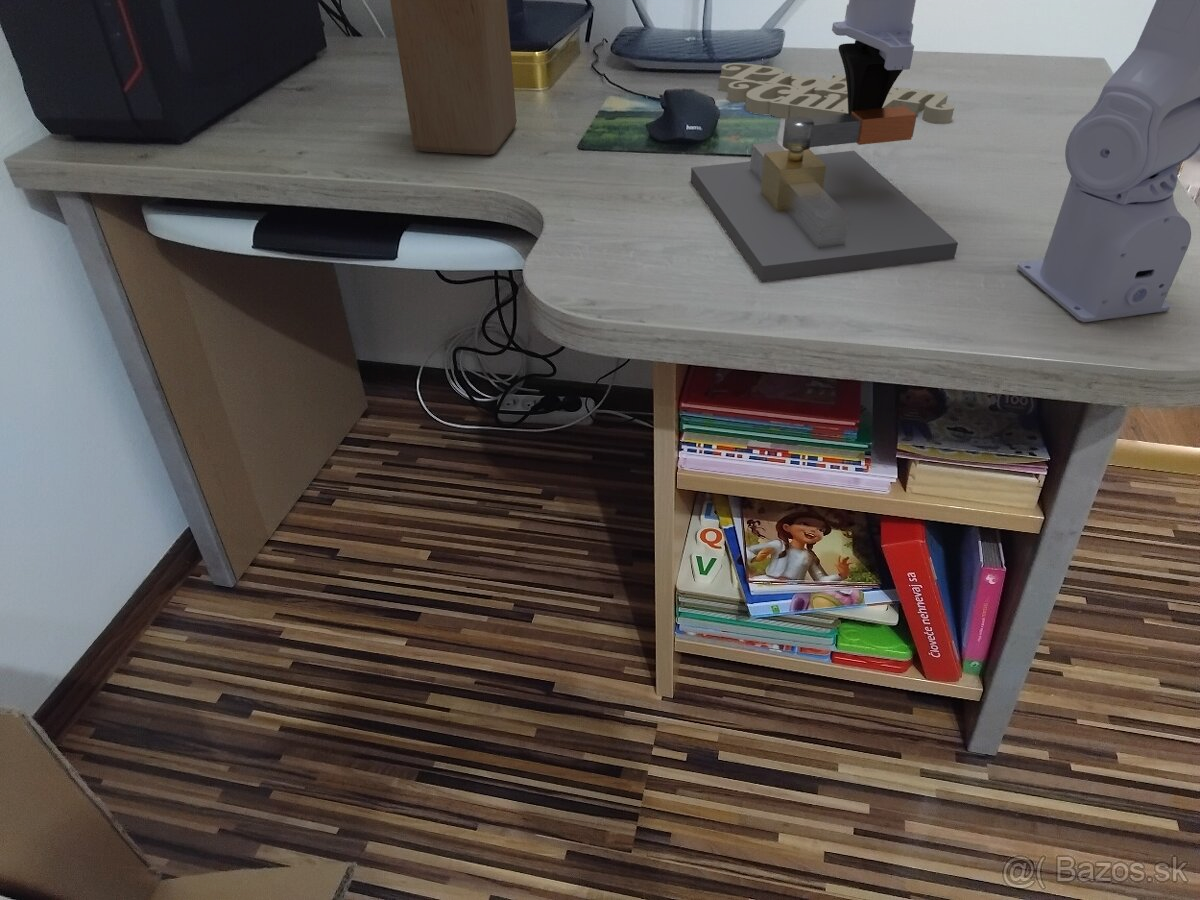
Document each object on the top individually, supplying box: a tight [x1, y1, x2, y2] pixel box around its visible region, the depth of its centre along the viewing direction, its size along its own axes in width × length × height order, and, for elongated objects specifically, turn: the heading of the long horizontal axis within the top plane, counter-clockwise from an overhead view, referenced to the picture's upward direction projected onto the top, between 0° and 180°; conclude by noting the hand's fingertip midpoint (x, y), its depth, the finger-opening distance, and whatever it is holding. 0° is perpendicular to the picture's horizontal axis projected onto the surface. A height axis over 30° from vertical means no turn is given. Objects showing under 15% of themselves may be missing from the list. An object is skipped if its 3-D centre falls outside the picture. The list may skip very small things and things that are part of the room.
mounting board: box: [690, 150, 959, 283], centre depth 85 cm, size 22×18×2 cm
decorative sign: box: [717, 62, 955, 125], centre depth 109 cm, size 31×2×15 cm
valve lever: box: [782, 106, 918, 151], centre depth 82 cm, size 12×3×2 cm, turn 101°
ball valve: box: [750, 141, 850, 248], centre depth 83 cm, size 18×4×5 cm, turn 11°
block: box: [389, 0, 517, 156], centre depth 97 cm, size 10×10×20 cm
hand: (861, 125), depth 85 cm, fingers closed
